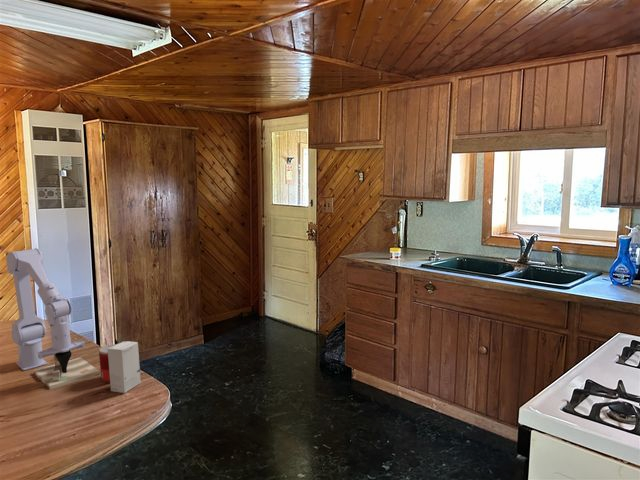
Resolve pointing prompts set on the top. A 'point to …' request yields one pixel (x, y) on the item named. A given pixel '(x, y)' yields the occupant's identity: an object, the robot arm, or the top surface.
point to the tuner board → (72, 373)
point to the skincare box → (124, 366)
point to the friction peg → (57, 370)
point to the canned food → (104, 363)
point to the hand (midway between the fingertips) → (64, 372)
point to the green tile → (60, 379)
